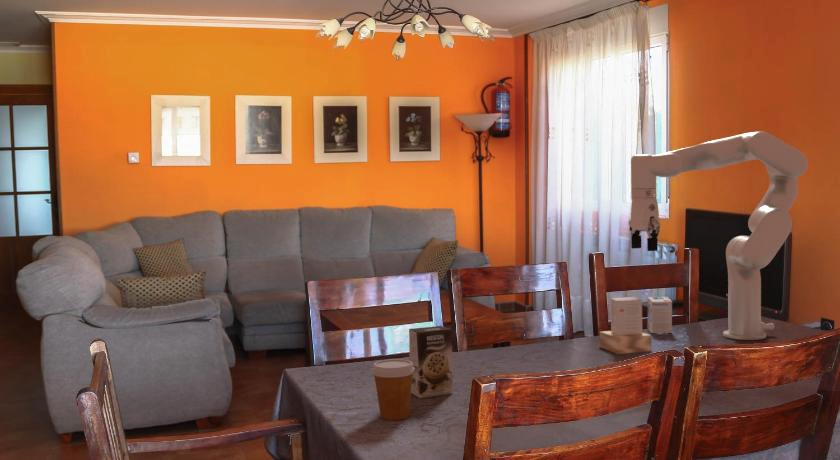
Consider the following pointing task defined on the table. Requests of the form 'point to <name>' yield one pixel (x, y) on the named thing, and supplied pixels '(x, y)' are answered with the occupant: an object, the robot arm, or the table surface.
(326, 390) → the table surface
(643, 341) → the oak block
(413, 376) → the cookie box
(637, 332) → the small box
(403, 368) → the disposable coffee cup
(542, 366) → the table surface
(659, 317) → the light bulb box
